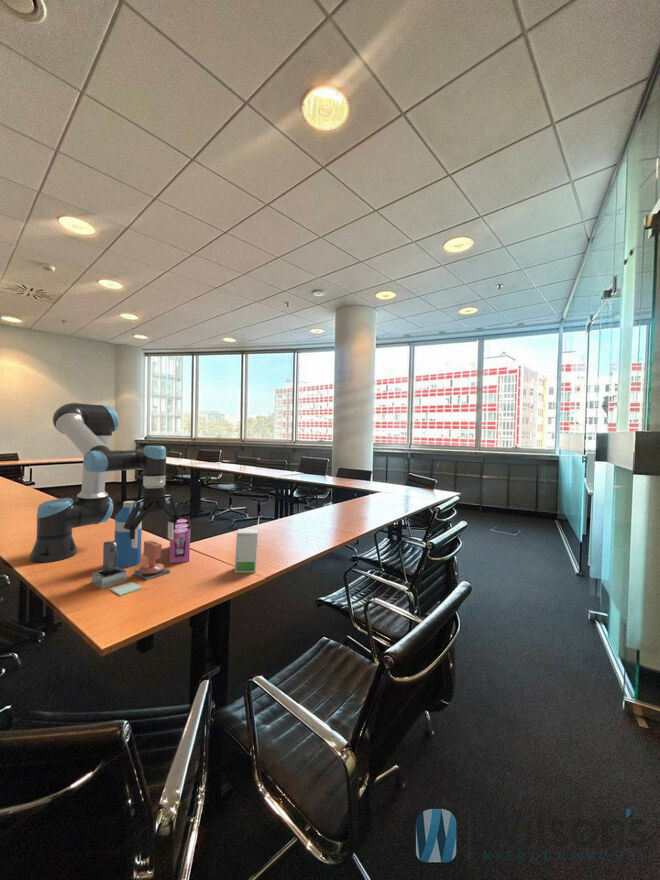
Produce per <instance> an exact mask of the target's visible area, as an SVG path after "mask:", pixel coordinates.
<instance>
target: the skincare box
mask: <svg viewBox="0 0 660 880" xmlns="http://www.w3.org/2000/svg"><path fill="white" fill-rule="evenodd" d="M258 539H259V529H256V528H255V529H252V528H238V529H237V533H236V540H235V541H236V544H235V559H234V573H235V574H239V573H241V574H243V573H247V574H248V573H249V574H250V573H251V574H252V573H253V574H254V573H256V572H257V561H258V559H257V558H258V545H259V543H258V542H259V540H258Z"/></svg>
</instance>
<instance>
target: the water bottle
mask: <svg viewBox="0 0 660 880" xmlns="http://www.w3.org/2000/svg"><path fill="white" fill-rule="evenodd" d="M134 502H135V501H134V500H126V501H125V500H124V502H122V508H121V509H120V510H119V511H118V513H117V514H116V515H115V517H114V541H117V561H116V566H117V567H119V568H121V569H123V568H124V569H125V568H131V567H134V566H138V565H139V564H140V563H141V561H142V560H141V558H142V557H141V555H142V527H143V525H142V522H143V520H142V521H141V523H140V524H139V525H138V526H137V528H136V529H137V530H138V546H137V548H133V547H132V539H130V538H129V530H128V529H125V528H124V525H125V523H126V521H127V519H128V517H129V515H130V513H131V511H132V509H133V505H134ZM140 512H141V510H139V512H138V514H137V516H138V515H139V514H140ZM137 516H136V517H137ZM135 519H136V518H135Z"/></svg>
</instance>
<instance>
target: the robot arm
mask: <svg viewBox="0 0 660 880" xmlns="http://www.w3.org/2000/svg"><path fill="white" fill-rule="evenodd" d="M52 416H53V417H52V423H53V424H52V425H53V426H54V428H55V429H56V431H58V432H59V433H60V434H63V435H65V436H66V437H67V438H68V439H69V440H70V442H72V444H73V445H74V446H75V447H76V448H77V449H78V450H79V451H80V453H82V455H83V461H82V478H81V479H82V480H81V490H80V492H79V493H78V494H77V495H76V500H73V498H71V497H64V498H61V497H60V498H55V499H51V500H47V501H44V502H42V503H40V504H39V505H38V507H37V512H36V540H35V542H34V544H33V546H32V549H31V553H30V559H29V560H30V561H31V562H34V563H49V562H50V563H51V562H56V561H62V560H64V559H68V558H71V557H74V556H75V555H76V554H77V553H78V552H77V550H78V549H77V545H76V542H75V540H74V537H73V529H74V528H80V527H81V528H82V527H86V526H92V525H93V526H94V525H99V524H102V523H105V522H107V521H108V520H109V519H110V518H111V517H112V514H113V511H114V501H113V500H112V498H111V497H109V493H107V491H105V489H106V487H105V486H106V473H107V472H118V471H135V470H137V471H139V470H142V471H143V474H142V477H143V478H142V479H143V480H142V486H143V488H142V501H135V502H134V505H133V509H132V511H131V513H130V515H129V517H128V519H127V521H126V523H125V525H124V528H125V529H128V530H129V538H130V539H132V547H133V548H137V546H138V530H137V529H136V528H137V526H138V525H139V524H140V523H141V521H142V522H143V520H144V519H145V517H146V516H147V515H148V514H150V513H155V512H161V513H162V514H163V515H164V516H165V517H166V518H167V519H168V520H169V521H168V522H167V539H168V540H170V539H171V540H173V530H175V523H176V522H177V520H180V518H181V516H180V514H179V512H178V510H177V508H176V506H175V504H174V498H173V497H169V496H167V497H166V487H165V486H166V476H167V475H166V472H167V469H166V468H167V449H166V447H165V446H163V445H145V446H144V448H143V449H142V450H141V449H130V450H129V449H128V450H111V449H110V448H109V447H108V442H109V439H110V438H111V437H112V436H113V433H114V432H116V431H117V430H118V428H119V425H120V424H119V423H120V421H119V416H118V412H117V411H116V409H114V407H112V406H108V405H103V404H89V403H79V402H72V403H71V402H70V403H66V404H63V405H62V406H60V407H58V408H57V409H56V410H55V412H54V413H53V415H52ZM165 497H166V498H165ZM165 504H167V506H168V508H169V511H170V512H171V513H170V512H169V511H168V509H167V508H166V506H165ZM141 508H142V509H141ZM140 509H141V510H140ZM139 511H140V514H139V515H138V516H137V514H138V512H139ZM136 516H137V517H136ZM135 518H136V519H135Z"/></svg>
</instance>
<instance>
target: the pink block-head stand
mask: <svg viewBox="0 0 660 880" xmlns="http://www.w3.org/2000/svg"><path fill="white" fill-rule="evenodd" d="M162 546H163V545H162V544H161V543H158V542H156V541H154V540H151V539H150V540H149V539H148V540H146V541H144V542H143V555H144V556H145V557H146V556H147V557H148V558H149V559H148V561H149V563H147V564H145V565H143V566H140V568H139V570H140V573H142V574H154V573H158V572H160V571H162V570H163V569H164V568H165V566H164V564H162V563H160V562H159V563H156V560H158V559H161V558H162Z"/></svg>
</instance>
